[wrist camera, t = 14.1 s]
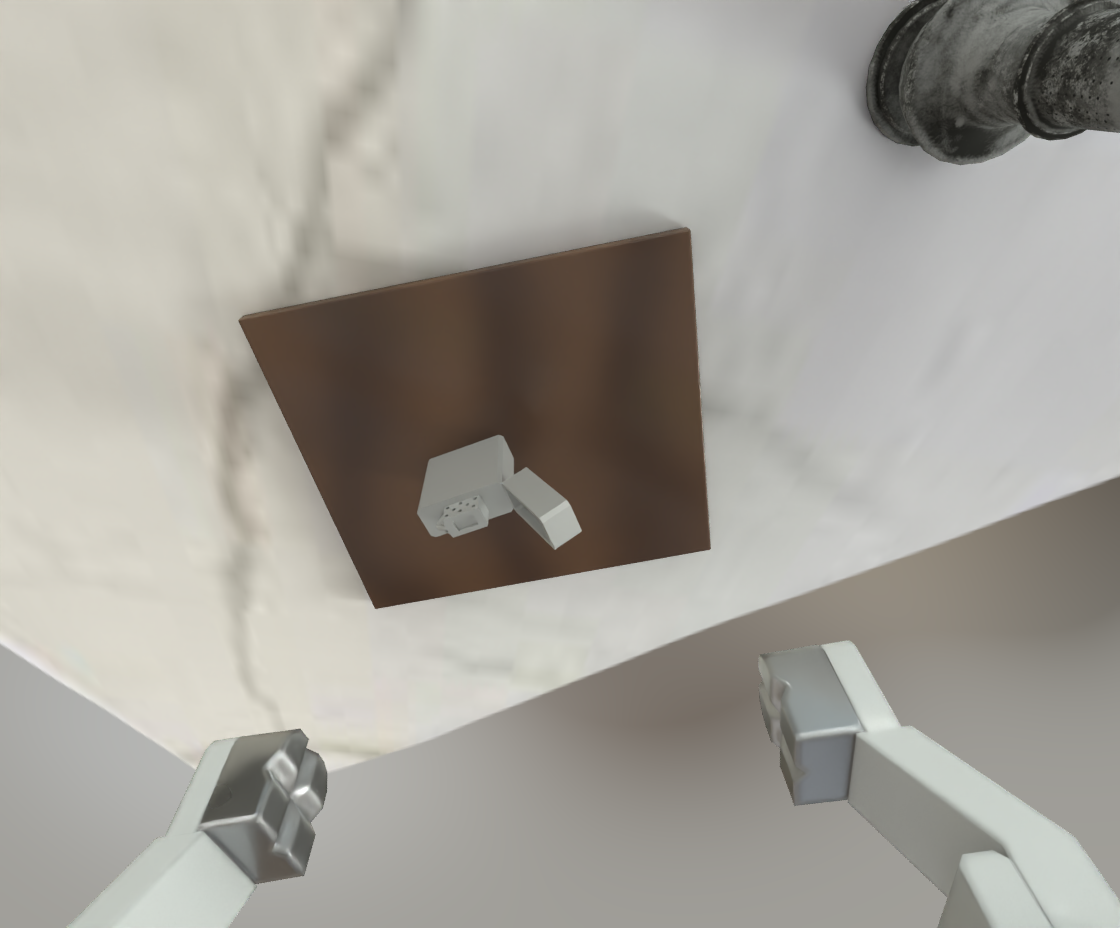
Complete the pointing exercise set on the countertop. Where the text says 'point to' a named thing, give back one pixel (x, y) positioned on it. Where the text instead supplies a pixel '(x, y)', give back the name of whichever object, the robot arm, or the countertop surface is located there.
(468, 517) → the lighter
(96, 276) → the countertop surface
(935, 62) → the tarnished pewter finial
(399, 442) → the walnut board
